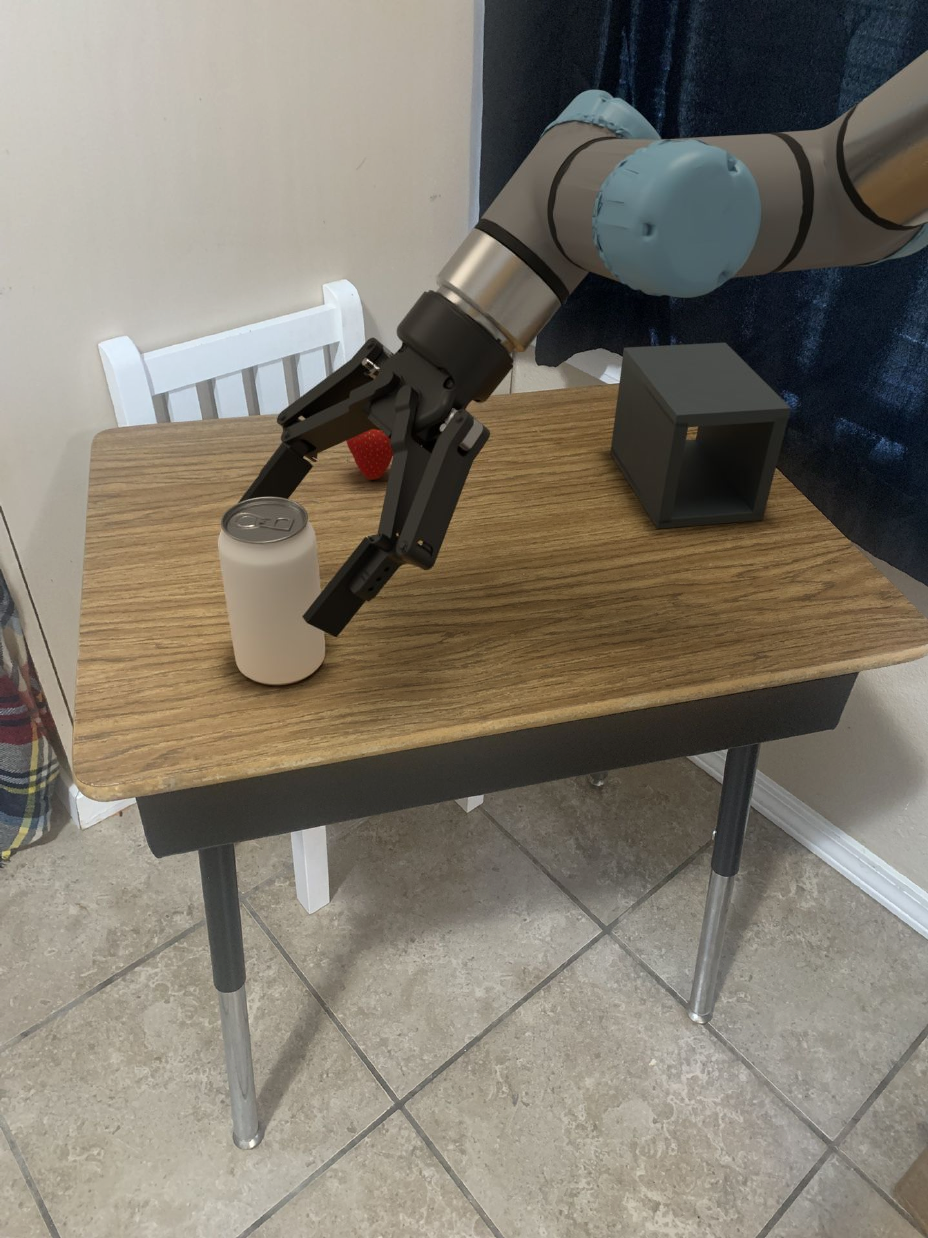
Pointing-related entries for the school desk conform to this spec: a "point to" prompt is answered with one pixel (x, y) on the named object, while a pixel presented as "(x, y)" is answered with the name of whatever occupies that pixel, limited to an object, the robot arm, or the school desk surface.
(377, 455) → the fruit
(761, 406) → the shelf
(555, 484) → the school desk surface
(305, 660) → the can
